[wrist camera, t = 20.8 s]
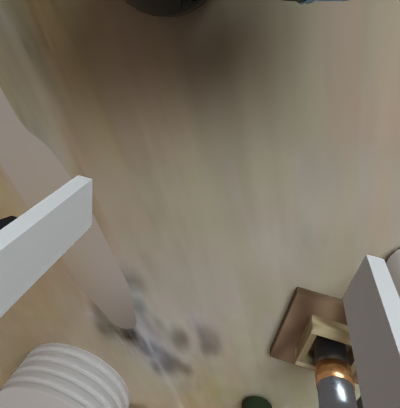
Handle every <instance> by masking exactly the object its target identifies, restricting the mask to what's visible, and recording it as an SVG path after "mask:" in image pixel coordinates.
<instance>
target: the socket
mask: <svg viewBox="0 0 400 408" xmlns="http://www.w3.org/2000/svg"><path fill="white" fill-rule="evenodd" d="M317 335H318V336H322V337H325V338H328V339H331V340H335V341H338V342H341V343H344V344H345V345H346V350H347V355H348V361H349V366H350V367H351V371H352V376H353V381H354V383H356V384H359V382H358V377H357V372H356V367H355V361H354V356H353V351H352V346H351V341H350V335H349V330H348V325H347V320H346V315H345V309H344V304H343V300H340V299H337V298H334V297H330V296H327V295H323V294H320V293H317V292H313V291H310V290H306V289H303V288H299V287H297V288H296V291H295V293H294V295H293V298H292V300H291V302H290V305H289V307H288V309H287V311H286V314H285V316H284V318H283V321H282V323H281V325H280V328H279V330H278V332H277V335H276V337H275V339H274V342H273V344H272V346H271V349H270V356H272V357H275V358H278V359H281V360H284V361H287V362H291V363H294V364H295V365H299V366H302V367H305V368H308V369H311V370H314V371H315V354H314V343H313V342H314V340H315V338H316V336H317Z"/></svg>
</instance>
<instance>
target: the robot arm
mask: <svg viewBox="0 0 400 408" xmlns="http://www.w3.org/2000/svg"><path fill="white" fill-rule="evenodd" d="M125 1H126V2H127V3H129V4H130V5H131V6H133V7H134V8H136V9H138V10H140V11H142V12H144V13H147V14H150V15H154V16H163V17H174V16H180V15H184V14H187V13H189V12H191V11H193V10H195V9H197V8H198V7H200V6H201V5H202V4H204V3H205V2H206V1H207V0H125ZM284 1H296V2H298V3H300V4H304V3H306V4H308V3H311V2H314V1H348V0H284ZM91 226H92V179H90V178H86V177H83V176H79V175H78V176H76V177H75V178H73V179H72V180H70V181H69V182H68V183H66V184H65V185H63V186H62V187H61V188H59V189H58V190H56V191H55V192H53V193H52V194H51V195H49V196H48V197H46V198H45V199H44V200H42V201H41V202H39V203H38V204H37V205H35V206H34V207H32V208H31V209H29V210H28V211H27V212H25V213H24V214H22V215H21V216H19V217H14V216H9V217H7V218H4V219H1V220H0V318H1V317H2V316H3V315H4V314H5V313H6V312H7V311H8V310H9V308H10V307H11V306H12V305H13V304H14V303H15V302H16V301H17V300H18V299H19V298H20V297H21V296H22V295H23V294H24V293H25V292H26V291H27V290H28V289H29V288H30V287H31V286H32V285H33V284H34V283H35V282H36V281H37V280H38V279H39V278H40V277H41V276H42V275H43V274H44V273H45V272H46V271H47V270H48V269H49V268H50V267H51V266H52V265H53V264H54V263H55V262H56V261H57V260H58V259H59V258H60V257H61V256H62V255H63V254H64V253H65V252H66V251H67V250H68V249H69V248H70V247H71V246H72V245H73V244H74V243H75V242H76V241H77V240H78V239H79V238H80V237H81V236H82V235H83V234H84V233H85V232H86V231H87V230H88V229H89V228H90V227H91ZM343 304H344V309H345V315H346V320H347V325H348V330H349V335H350V341H351V346H352V351H353V356H354V361H355V367H356V372H357V377H358V382H359V387H360V393H361V397H362V403H363V408H400V298H399V295H398V293H397V290H396V288H395V285H394V283H393V280H392V278H391V275H390V273H389V270H388V268H387V265H386V263H385V260H384V259H381V258H378V257H374V256H370V255H367V254H366V256H365V258H364V260H363V261H362V263H361V265H360V267H359V269H358V271H357V273H356V275H355V276H354V278H353V280H352V282H351V284H350V286H349V288H348V289H347V291H346V293H345V295H344V297H343Z"/></svg>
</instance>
